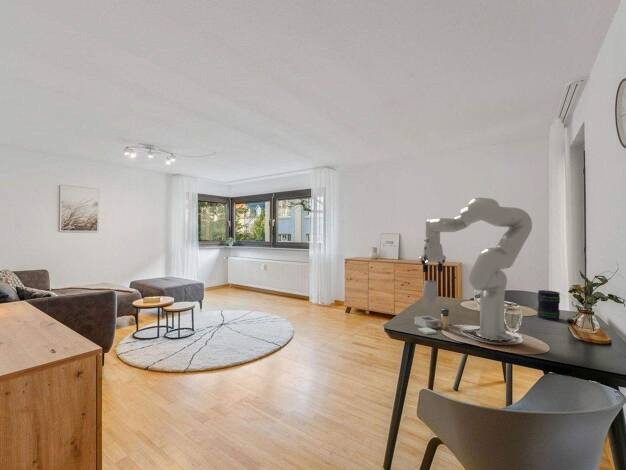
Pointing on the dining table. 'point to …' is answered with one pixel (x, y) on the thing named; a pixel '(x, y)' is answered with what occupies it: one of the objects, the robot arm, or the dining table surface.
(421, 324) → the chuck block
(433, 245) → the robot arm
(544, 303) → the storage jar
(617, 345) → the dining table surface
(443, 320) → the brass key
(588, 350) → the dining table surface
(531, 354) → the dining table surface
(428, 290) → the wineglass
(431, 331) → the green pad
